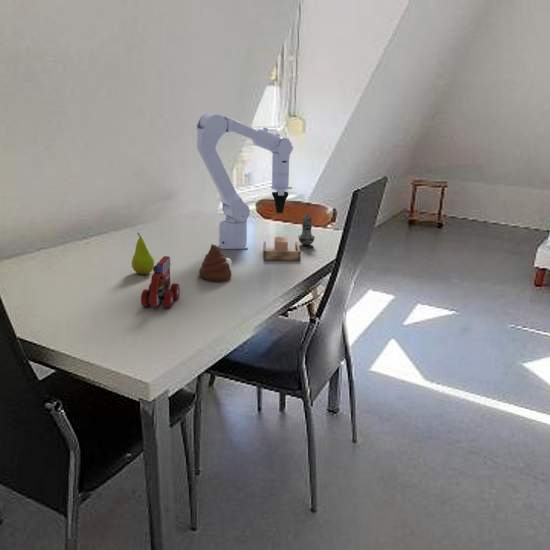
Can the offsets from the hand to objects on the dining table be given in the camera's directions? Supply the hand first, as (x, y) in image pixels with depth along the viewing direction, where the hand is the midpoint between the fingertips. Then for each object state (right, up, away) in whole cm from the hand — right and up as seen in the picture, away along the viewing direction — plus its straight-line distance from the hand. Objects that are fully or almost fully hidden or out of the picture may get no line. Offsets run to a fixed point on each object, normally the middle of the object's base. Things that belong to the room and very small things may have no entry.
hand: (279, 212), depth 172 cm
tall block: (0, -11, -8) cm, 13 cm away
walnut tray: (0, -15, -13) cm, 20 cm away
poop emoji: (-18, -23, -35) cm, 45 cm away
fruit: (-39, -22, -33) cm, 56 cm away
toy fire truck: (-29, -29, -54) cm, 68 cm away
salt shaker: (+9, -12, -3) cm, 16 cm away
